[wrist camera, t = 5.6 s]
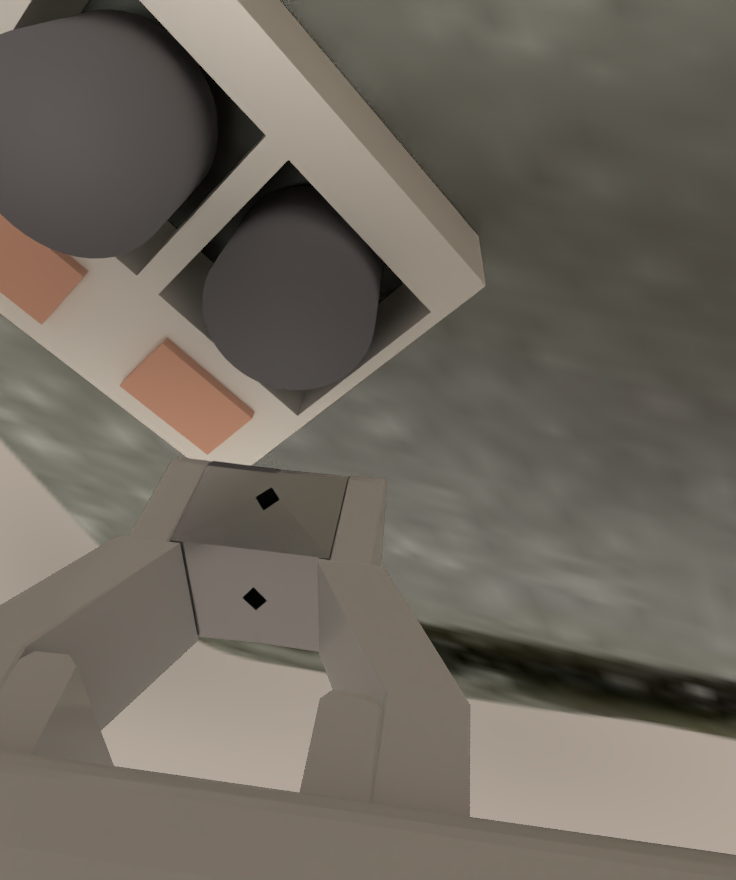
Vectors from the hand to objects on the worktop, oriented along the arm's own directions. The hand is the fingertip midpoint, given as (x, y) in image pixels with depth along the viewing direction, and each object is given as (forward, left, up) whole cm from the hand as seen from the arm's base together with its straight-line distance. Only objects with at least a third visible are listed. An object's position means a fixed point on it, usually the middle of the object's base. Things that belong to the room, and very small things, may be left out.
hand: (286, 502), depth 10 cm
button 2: (+1, +1, -9) cm, 9 cm away
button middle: (+6, +1, -8) cm, 10 cm away
